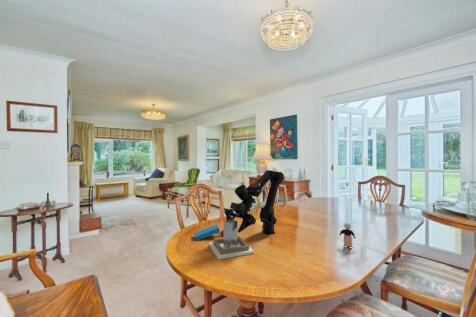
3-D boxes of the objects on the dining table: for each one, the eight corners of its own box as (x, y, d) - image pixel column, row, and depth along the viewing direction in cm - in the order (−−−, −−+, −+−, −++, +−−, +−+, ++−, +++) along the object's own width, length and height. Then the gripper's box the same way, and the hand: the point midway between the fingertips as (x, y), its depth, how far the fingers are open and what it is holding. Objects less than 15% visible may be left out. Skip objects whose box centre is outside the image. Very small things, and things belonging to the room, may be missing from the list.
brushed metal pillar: (230, 243, 118) (230, 219, 118) (237, 246, 115) (237, 221, 114) (223, 246, 114) (223, 221, 114) (230, 249, 111) (230, 223, 111)
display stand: (240, 240, 126) (240, 234, 126) (253, 253, 109) (253, 246, 109) (209, 244, 120) (209, 238, 120) (218, 259, 103) (218, 252, 103)
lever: (198, 248, 127) (228, 236, 131) (195, 237, 126) (224, 225, 131) (197, 244, 133) (225, 232, 138) (193, 233, 133) (222, 222, 137)
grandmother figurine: (354, 246, 118) (354, 222, 118) (355, 249, 114) (356, 224, 114) (338, 244, 120) (338, 220, 120) (339, 247, 117) (339, 222, 117)
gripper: (226, 194, 125) (211, 218, 117) (252, 198, 112) (237, 225, 105) (236, 205, 131) (222, 229, 123) (261, 211, 118) (248, 237, 110)
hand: (231, 230), depth 115 cm, fingers open, 9 cm apart
